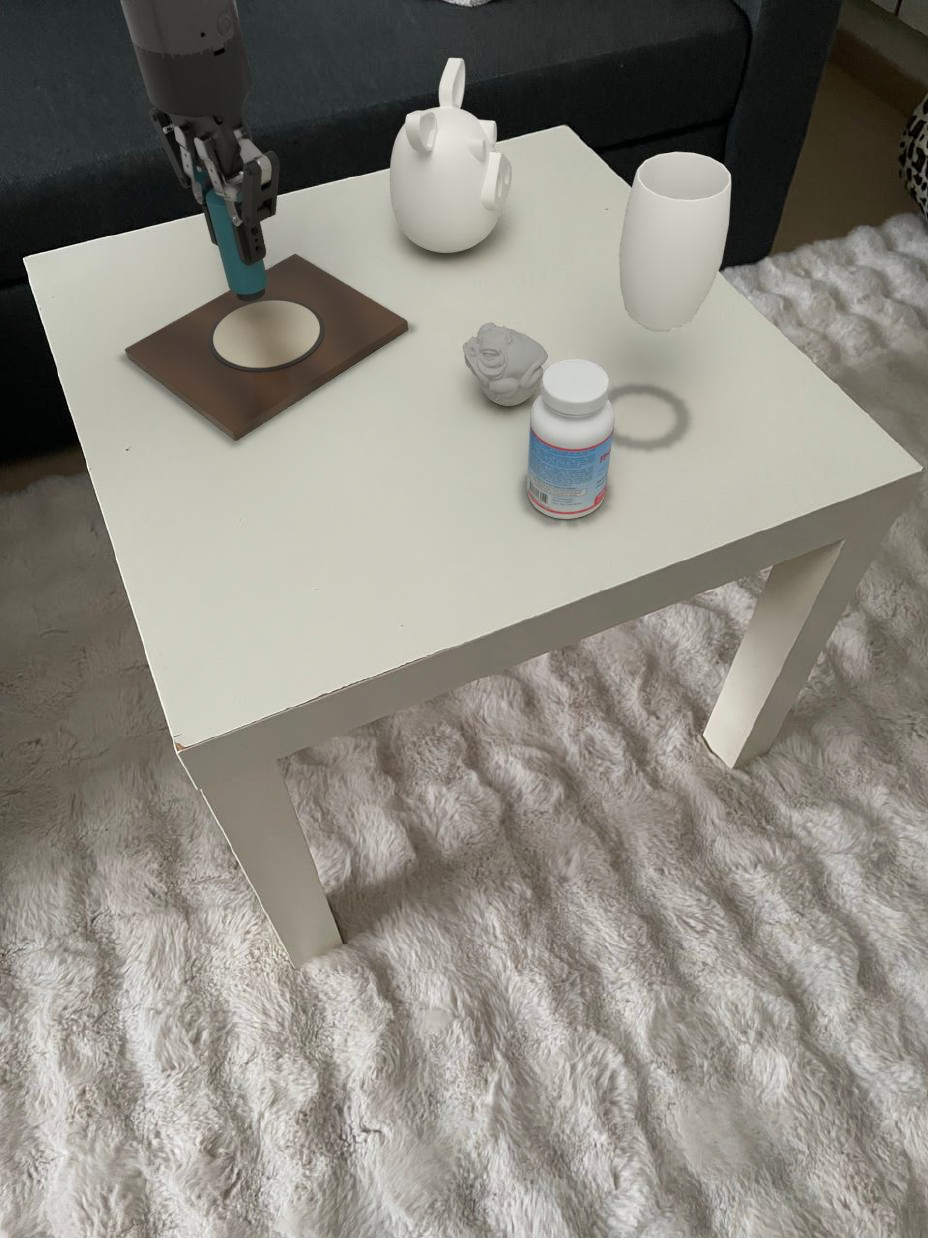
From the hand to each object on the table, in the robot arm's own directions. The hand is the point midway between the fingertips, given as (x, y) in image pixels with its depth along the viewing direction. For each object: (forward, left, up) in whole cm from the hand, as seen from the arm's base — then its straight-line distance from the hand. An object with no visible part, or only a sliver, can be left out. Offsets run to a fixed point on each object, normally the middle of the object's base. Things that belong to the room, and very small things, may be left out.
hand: (239, 250), depth 77 cm
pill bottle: (+4, -33, -9) cm, 35 cm away
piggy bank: (+23, -2, -9) cm, 25 cm away
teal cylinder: (0, 0, -4) cm, 4 cm away
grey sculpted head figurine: (+9, -22, -9) cm, 26 cm away
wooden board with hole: (0, -1, -9) cm, 9 cm away
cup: (+15, -32, -9) cm, 37 cm away
